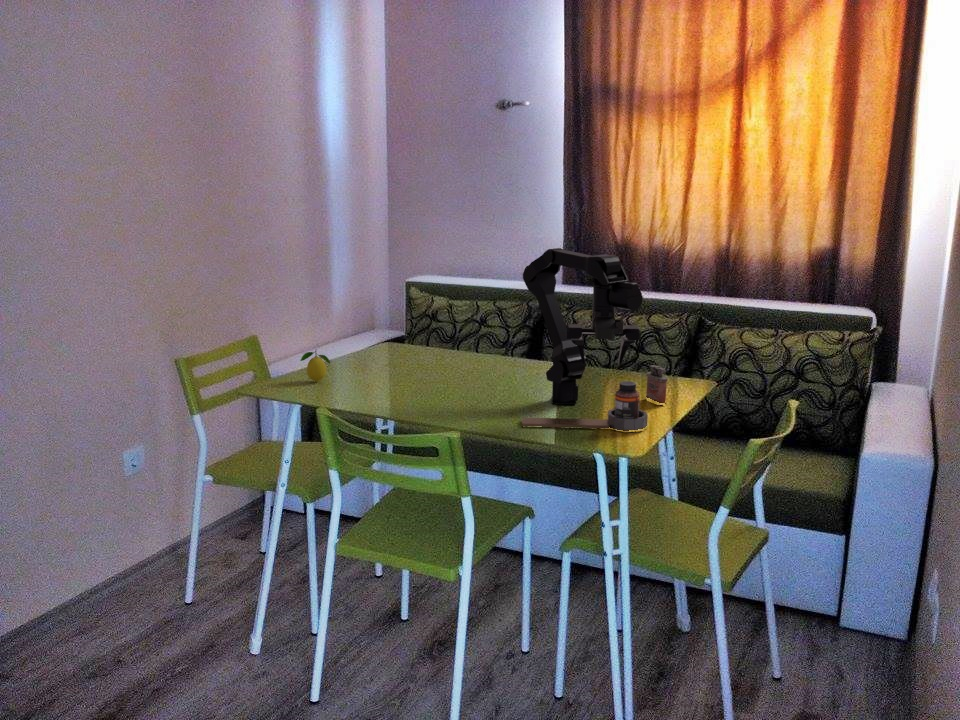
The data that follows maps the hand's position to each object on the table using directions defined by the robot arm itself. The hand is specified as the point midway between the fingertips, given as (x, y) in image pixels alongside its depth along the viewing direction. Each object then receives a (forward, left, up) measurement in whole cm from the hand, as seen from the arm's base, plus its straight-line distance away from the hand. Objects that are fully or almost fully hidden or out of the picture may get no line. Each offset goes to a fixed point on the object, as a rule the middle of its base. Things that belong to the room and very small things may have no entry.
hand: (601, 364), depth 237 cm
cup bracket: (-5, -11, -13) cm, 18 cm away
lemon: (-80, +24, -13) cm, 85 cm away
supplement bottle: (+6, -11, -13) cm, 18 cm away
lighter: (+16, +12, -13) cm, 24 cm away
